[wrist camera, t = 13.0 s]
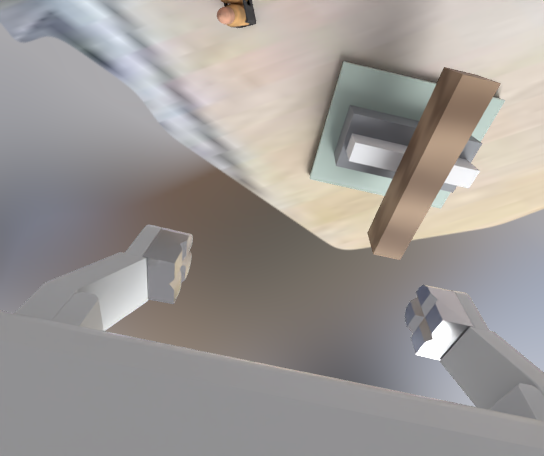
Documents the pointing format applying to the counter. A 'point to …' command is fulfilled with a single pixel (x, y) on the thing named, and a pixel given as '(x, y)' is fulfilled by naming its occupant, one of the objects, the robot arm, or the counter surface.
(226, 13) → the ammunition clip
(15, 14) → the counter surface
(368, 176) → the ridge stand
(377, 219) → the walnut batten
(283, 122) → the counter surface
